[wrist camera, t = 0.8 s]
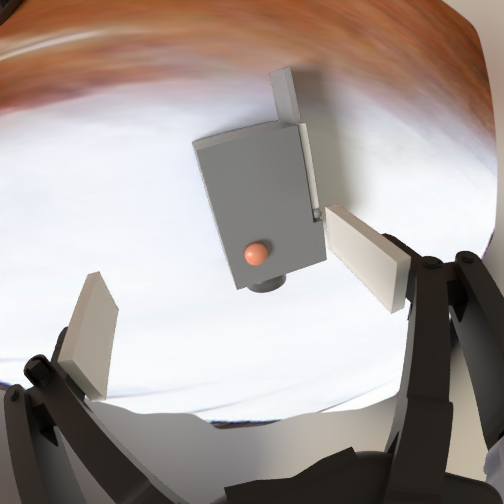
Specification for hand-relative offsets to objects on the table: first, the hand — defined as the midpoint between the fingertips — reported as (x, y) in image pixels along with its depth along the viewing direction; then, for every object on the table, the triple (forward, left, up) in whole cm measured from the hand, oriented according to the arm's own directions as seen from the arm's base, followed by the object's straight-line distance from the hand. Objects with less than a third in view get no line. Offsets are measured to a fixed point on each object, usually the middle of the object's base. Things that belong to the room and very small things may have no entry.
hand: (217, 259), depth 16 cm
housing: (+5, +6, -22) cm, 23 cm away
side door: (-2, +12, -21) cm, 24 cm away
